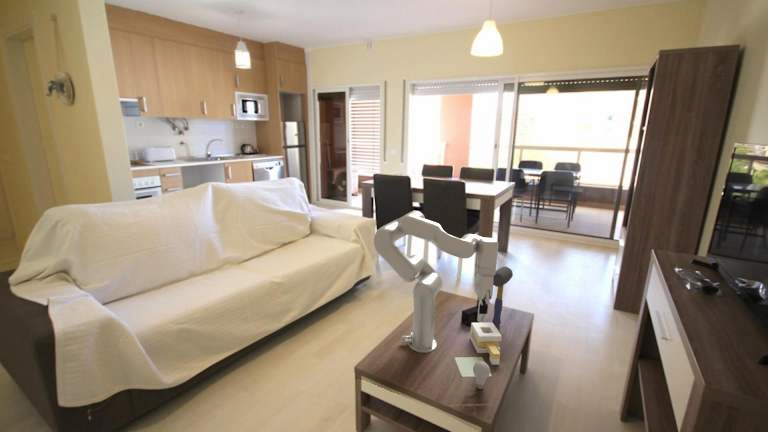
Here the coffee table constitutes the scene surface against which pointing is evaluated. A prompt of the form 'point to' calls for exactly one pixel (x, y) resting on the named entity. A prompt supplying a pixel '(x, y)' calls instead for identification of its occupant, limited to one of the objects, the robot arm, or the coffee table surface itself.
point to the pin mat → (467, 365)
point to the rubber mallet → (500, 291)
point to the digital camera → (469, 316)
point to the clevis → (486, 340)
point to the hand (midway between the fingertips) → (481, 310)
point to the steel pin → (480, 316)
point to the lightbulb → (481, 373)
